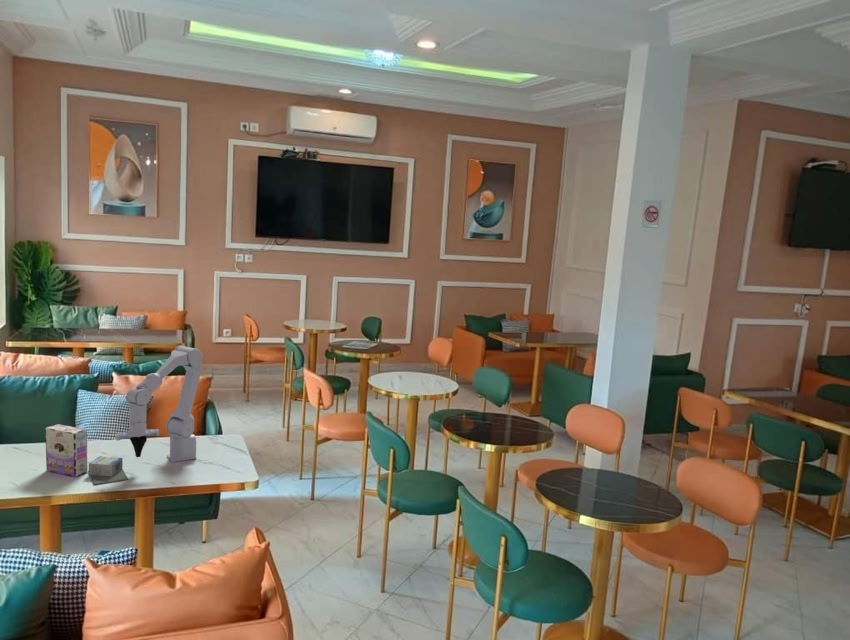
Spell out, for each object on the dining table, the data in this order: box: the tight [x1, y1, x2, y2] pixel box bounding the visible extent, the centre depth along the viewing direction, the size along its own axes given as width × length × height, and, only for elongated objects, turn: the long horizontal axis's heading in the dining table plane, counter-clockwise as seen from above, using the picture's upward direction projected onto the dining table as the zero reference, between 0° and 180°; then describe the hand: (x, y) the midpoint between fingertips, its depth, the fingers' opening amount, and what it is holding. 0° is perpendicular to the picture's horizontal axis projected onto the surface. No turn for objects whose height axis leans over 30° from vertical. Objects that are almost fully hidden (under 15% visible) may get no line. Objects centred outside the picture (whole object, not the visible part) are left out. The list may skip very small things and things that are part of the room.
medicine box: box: [88, 455, 124, 476], centre depth 238 cm, size 8×4×9 cm
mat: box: [87, 468, 129, 486], centre depth 236 cm, size 11×14×1 cm
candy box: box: [44, 423, 88, 478], centre depth 236 cm, size 14×6×16 cm, turn 71°
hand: (138, 456), depth 241 cm, fingers closed
